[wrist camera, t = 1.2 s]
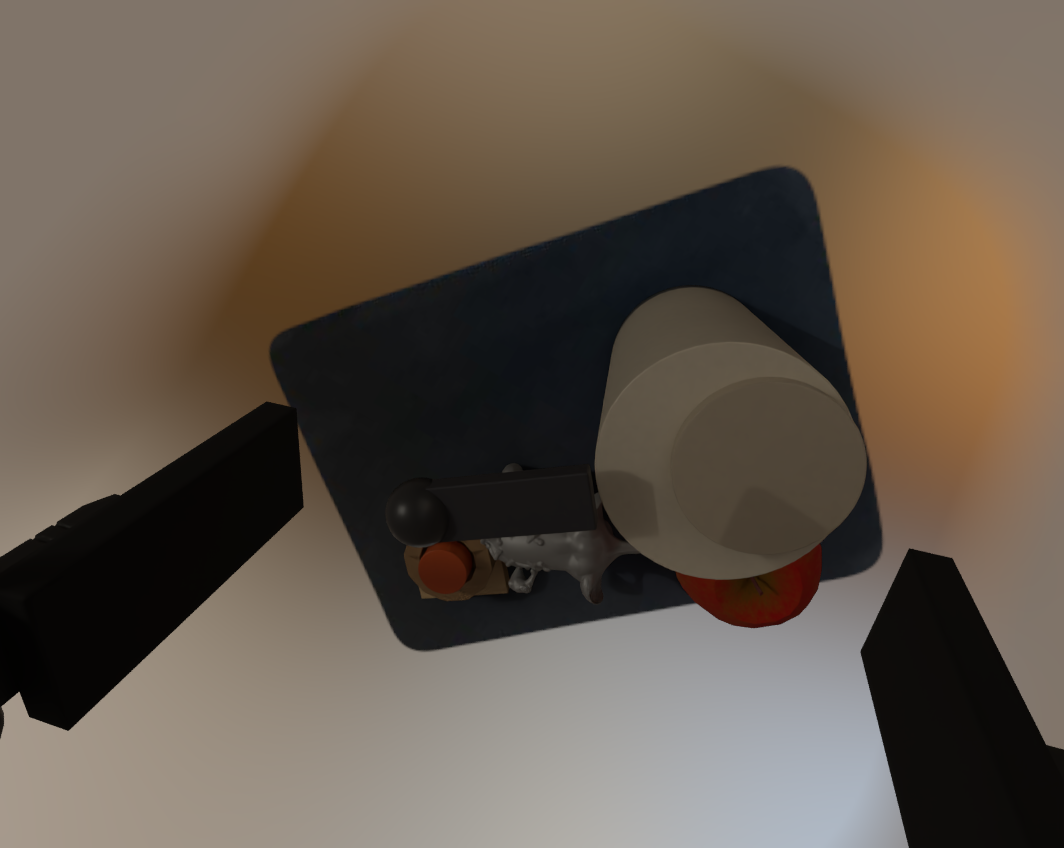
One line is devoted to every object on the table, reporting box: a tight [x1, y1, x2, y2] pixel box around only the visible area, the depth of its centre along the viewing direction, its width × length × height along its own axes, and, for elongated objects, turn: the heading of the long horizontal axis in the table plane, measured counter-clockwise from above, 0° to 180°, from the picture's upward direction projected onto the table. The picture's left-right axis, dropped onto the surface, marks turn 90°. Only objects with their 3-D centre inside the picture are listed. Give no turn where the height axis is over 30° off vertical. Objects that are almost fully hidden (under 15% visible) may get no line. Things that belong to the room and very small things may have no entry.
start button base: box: [404, 539, 510, 601], centre depth 49 cm, size 8×7×3 cm
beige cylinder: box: [595, 285, 867, 580], centre depth 34 cm, size 10×10×20 cm
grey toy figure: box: [480, 463, 640, 604], centre depth 44 cm, size 9×12×8 cm
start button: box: [418, 541, 472, 594], centre depth 47 cm, size 4×4×2 cm
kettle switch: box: [386, 464, 598, 548], centre depth 26 cm, size 3×8×3 cm, turn 100°
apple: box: [675, 543, 822, 628], centre depth 41 cm, size 9×8×11 cm
